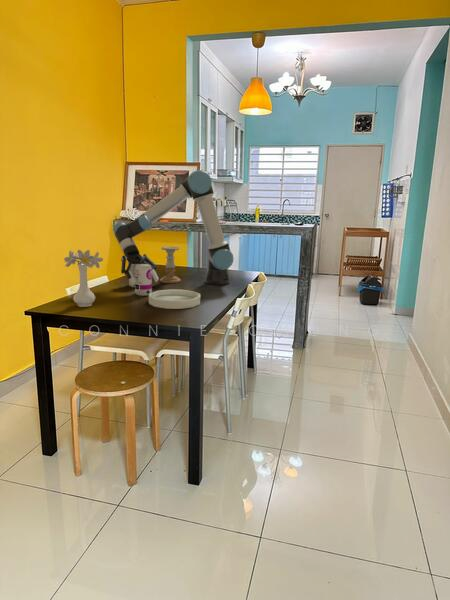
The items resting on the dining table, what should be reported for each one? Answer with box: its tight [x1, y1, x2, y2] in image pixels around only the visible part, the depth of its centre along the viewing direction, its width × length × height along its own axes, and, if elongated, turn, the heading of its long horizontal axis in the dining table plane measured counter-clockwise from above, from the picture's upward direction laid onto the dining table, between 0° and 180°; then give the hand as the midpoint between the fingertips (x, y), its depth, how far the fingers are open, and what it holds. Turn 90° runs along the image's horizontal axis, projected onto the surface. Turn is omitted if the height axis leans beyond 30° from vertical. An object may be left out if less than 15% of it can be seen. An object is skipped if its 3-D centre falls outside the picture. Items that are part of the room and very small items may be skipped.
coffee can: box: [127, 260, 142, 288], centre depth 228 cm, size 10×10×14 cm
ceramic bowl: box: [148, 289, 201, 310], centre depth 195 cm, size 24×24×4 cm
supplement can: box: [134, 264, 153, 296], centre depth 208 cm, size 8×8×15 cm
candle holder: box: [159, 246, 182, 284], centre depth 241 cm, size 12×12×20 cm
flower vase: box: [63, 249, 104, 308], centre depth 182 cm, size 13×18×25 cm
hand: (145, 281), depth 206 cm, fingers open, 13 cm apart
